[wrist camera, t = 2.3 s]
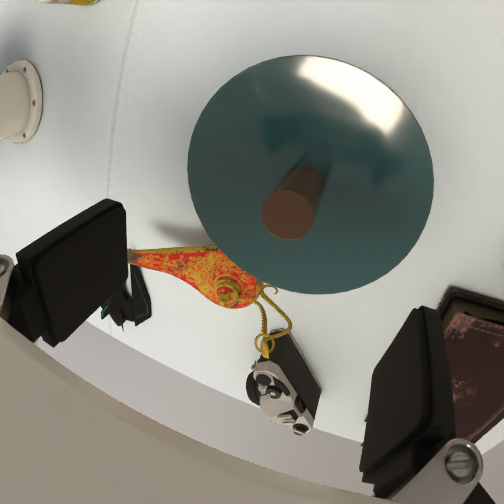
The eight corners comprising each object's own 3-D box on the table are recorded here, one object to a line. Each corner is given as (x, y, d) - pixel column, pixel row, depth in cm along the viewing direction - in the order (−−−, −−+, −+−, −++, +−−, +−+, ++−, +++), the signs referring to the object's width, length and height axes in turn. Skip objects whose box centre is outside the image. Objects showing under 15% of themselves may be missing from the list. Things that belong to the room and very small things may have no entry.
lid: (186, 245, 24) (144, 287, 19) (213, 39, 16) (160, 29, 12) (378, 310, 22) (375, 371, 17) (461, 105, 14) (500, 115, 9)
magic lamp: (156, 197, 34) (87, 243, 25) (317, 257, 31) (293, 334, 22) (152, 249, 38) (93, 302, 29) (296, 307, 35) (267, 385, 26)
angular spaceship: (96, 307, 48) (85, 317, 46) (84, 226, 40) (70, 235, 38) (153, 335, 46) (142, 347, 44) (150, 251, 38) (136, 264, 36)
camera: (233, 335, 40) (207, 392, 33) (287, 322, 36) (266, 387, 29) (282, 392, 45) (266, 444, 38) (331, 385, 41) (319, 443, 34)
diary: (558, 318, 24) (572, 346, 20) (461, 433, 37) (462, 459, 33) (442, 281, 28) (450, 313, 24) (359, 417, 41) (355, 445, 37)
